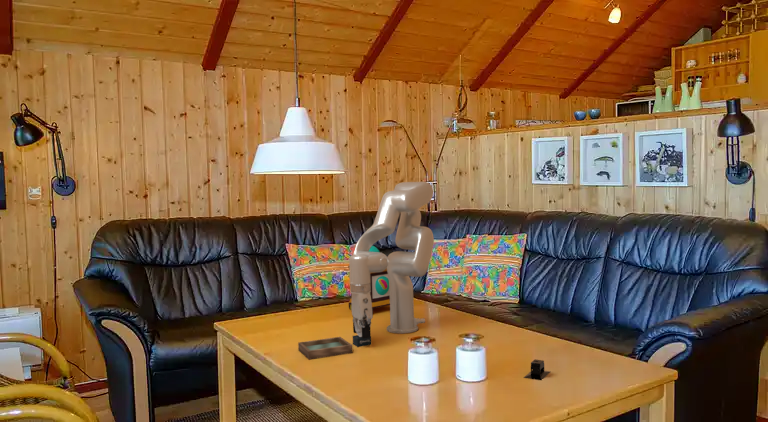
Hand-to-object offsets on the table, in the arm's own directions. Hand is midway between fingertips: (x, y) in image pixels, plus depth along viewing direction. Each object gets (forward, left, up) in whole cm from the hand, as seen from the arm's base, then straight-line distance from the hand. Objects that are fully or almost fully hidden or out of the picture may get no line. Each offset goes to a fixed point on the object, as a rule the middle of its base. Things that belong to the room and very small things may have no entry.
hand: (361, 334), depth 221 cm
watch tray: (+15, +2, -4) cm, 15 cm away
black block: (-35, +58, -4) cm, 68 cm away
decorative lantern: (-27, -54, -4) cm, 60 cm away
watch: (0, 0, -4) cm, 4 cm away
